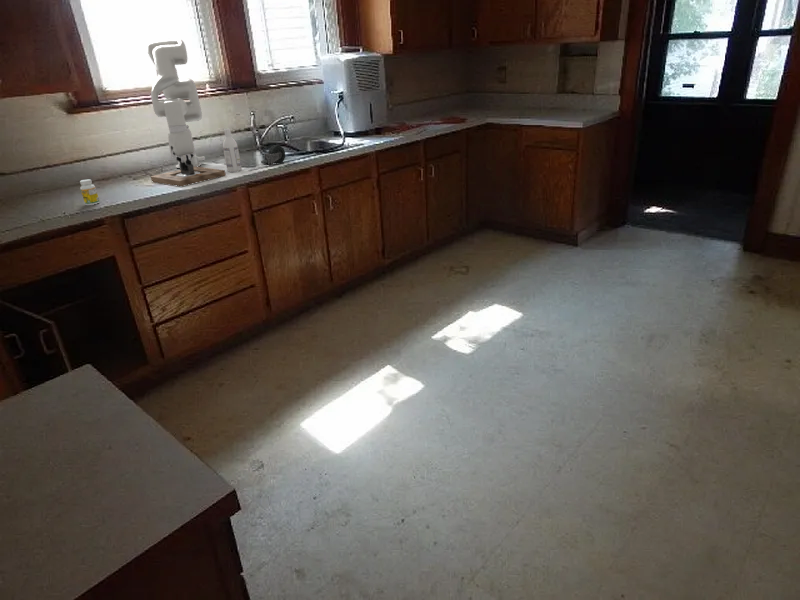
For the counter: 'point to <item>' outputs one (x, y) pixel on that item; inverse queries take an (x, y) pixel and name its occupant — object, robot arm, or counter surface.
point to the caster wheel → (274, 155)
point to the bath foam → (231, 152)
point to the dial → (189, 171)
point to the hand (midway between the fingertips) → (187, 169)
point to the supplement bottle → (89, 192)
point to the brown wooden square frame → (181, 181)
